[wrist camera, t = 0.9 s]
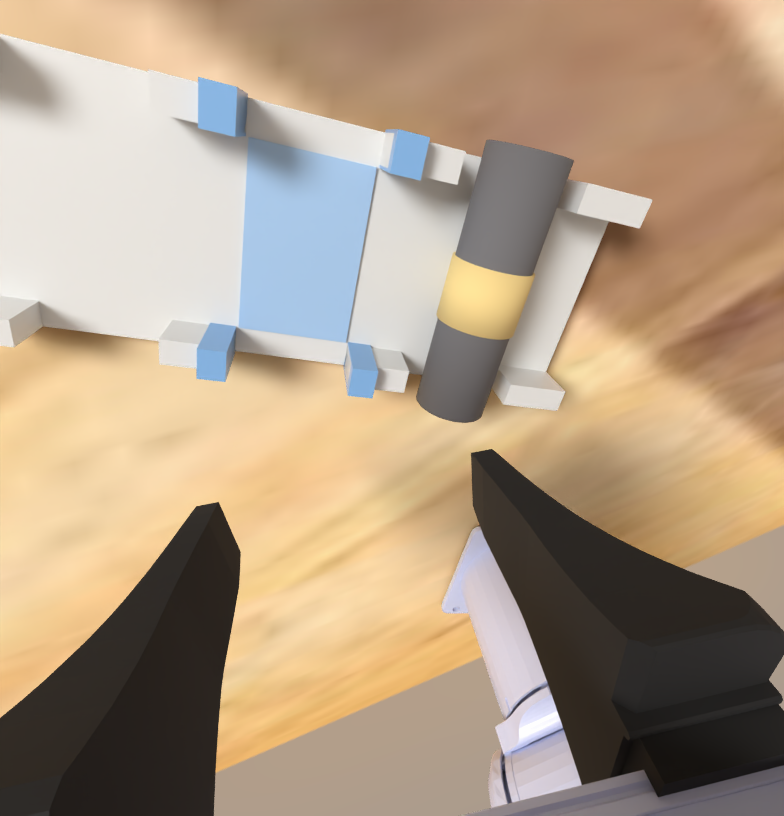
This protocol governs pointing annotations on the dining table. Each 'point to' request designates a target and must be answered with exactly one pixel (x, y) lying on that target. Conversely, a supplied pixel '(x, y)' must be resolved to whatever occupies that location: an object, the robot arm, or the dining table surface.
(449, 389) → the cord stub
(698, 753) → the robot arm
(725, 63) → the dining table surface
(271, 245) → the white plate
